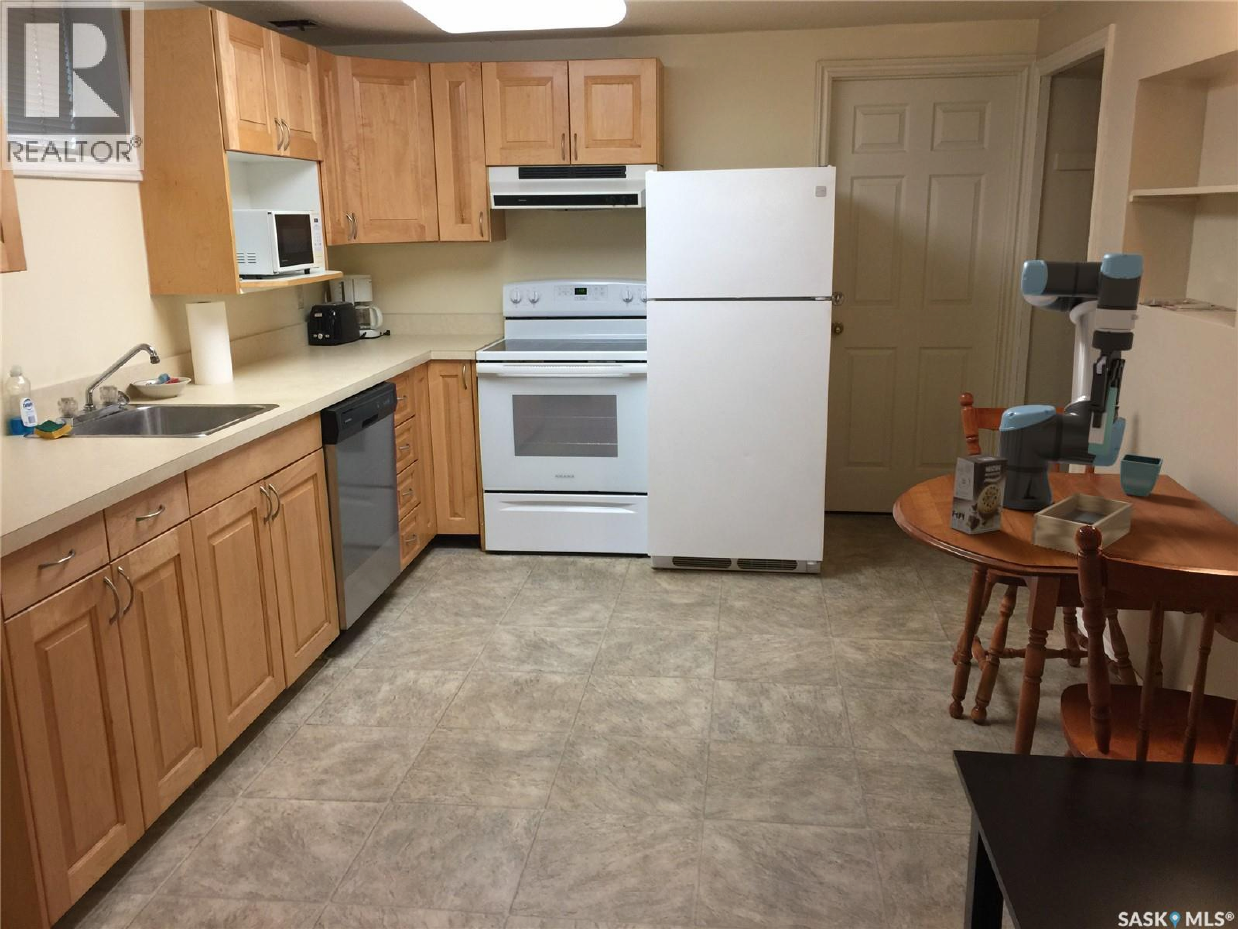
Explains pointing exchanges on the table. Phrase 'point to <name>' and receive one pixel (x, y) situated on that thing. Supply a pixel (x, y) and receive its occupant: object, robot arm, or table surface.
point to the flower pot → (1139, 474)
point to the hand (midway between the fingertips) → (1099, 441)
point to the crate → (1080, 521)
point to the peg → (1106, 426)
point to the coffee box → (978, 493)
